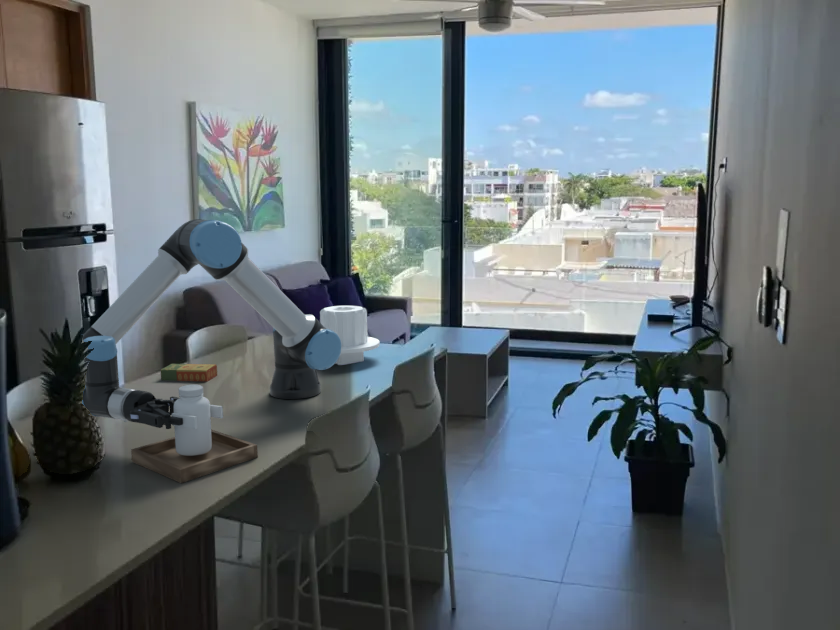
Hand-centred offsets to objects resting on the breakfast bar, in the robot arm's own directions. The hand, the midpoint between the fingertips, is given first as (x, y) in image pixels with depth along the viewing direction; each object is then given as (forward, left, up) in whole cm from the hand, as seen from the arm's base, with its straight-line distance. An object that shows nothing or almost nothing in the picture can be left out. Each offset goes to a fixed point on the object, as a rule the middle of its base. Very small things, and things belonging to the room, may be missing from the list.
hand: (208, 417), depth 171 cm
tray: (+1, -5, -11) cm, 12 cm away
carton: (-41, -72, -11) cm, 84 cm away
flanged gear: (-90, -50, -11) cm, 103 cm away
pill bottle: (+1, -5, -9) cm, 10 cm away
